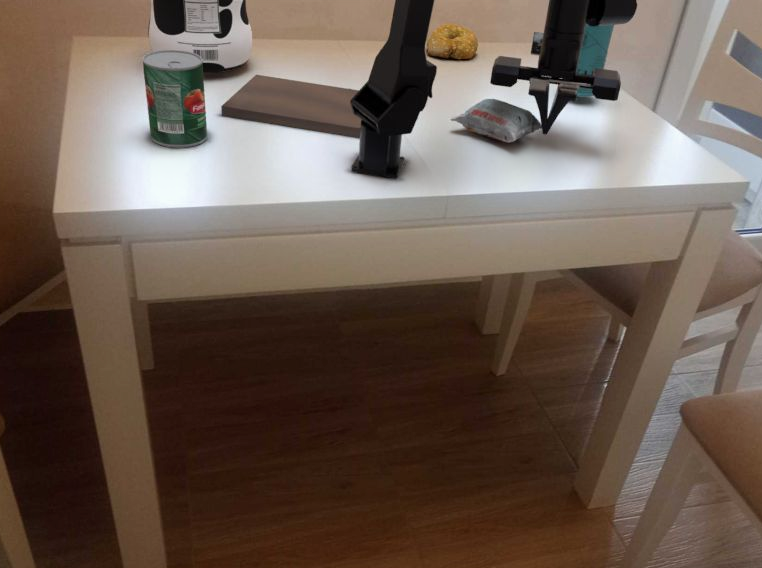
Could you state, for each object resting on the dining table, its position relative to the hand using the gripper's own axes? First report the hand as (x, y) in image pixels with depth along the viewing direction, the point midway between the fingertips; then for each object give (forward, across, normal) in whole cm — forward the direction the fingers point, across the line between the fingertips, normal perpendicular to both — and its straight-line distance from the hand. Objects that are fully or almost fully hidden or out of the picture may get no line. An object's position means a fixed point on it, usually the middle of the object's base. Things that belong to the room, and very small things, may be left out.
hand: (544, 133), depth 120 cm
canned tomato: (+1, +51, +20) cm, 55 cm away
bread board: (+1, +38, +1) cm, 38 cm away
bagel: (+2, +20, -40) cm, 45 cm away
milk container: (+1, +61, -11) cm, 62 cm away
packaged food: (+2, +8, 0) cm, 8 cm away
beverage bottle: (+2, -5, -24) cm, 25 cm away
